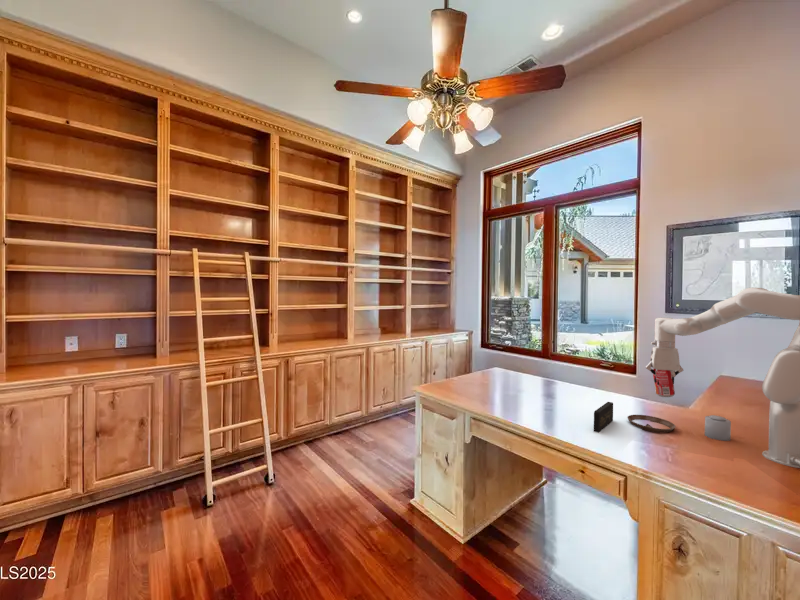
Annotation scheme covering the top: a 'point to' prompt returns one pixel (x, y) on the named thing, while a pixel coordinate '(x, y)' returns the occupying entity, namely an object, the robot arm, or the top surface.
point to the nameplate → (603, 416)
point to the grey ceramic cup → (718, 428)
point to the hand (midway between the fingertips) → (663, 384)
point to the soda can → (664, 383)
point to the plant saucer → (652, 419)
